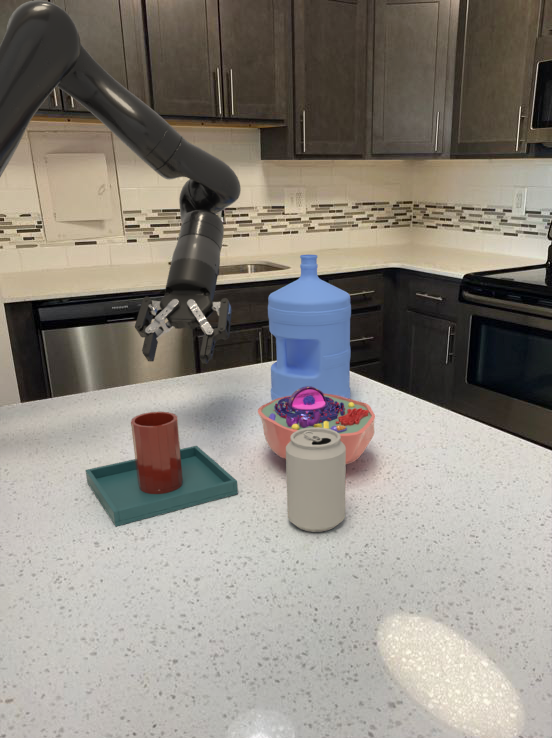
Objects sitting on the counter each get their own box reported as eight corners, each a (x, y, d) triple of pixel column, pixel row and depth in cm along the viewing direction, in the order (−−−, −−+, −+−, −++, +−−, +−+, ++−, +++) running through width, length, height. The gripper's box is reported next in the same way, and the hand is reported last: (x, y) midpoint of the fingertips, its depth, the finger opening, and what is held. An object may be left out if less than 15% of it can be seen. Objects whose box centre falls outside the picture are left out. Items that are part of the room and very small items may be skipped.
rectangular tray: (115, 526, 85) (113, 512, 84) (87, 482, 97) (85, 469, 96) (238, 494, 93) (237, 480, 93) (197, 457, 105) (196, 445, 105)
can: (317, 541, 81) (317, 451, 77) (275, 521, 86) (272, 435, 82) (357, 519, 86) (358, 433, 82) (314, 501, 91) (314, 419, 87)
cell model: (291, 498, 92) (289, 422, 88) (246, 447, 109) (243, 381, 105) (397, 476, 98) (400, 404, 94) (339, 431, 115) (339, 369, 111)
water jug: (320, 384, 141) (319, 248, 131) (366, 403, 129) (369, 256, 119) (256, 397, 133) (250, 254, 123) (298, 419, 121) (295, 263, 111)
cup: (146, 498, 91) (138, 430, 88) (133, 481, 96) (125, 416, 92) (189, 487, 94) (183, 421, 90) (174, 471, 99) (168, 408, 95)
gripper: (143, 255, 103) (121, 345, 97) (232, 256, 101) (216, 348, 95) (158, 284, 110) (139, 370, 103) (242, 286, 108) (228, 373, 102)
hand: (176, 360), depth 99 cm, fingers open, 8 cm apart
